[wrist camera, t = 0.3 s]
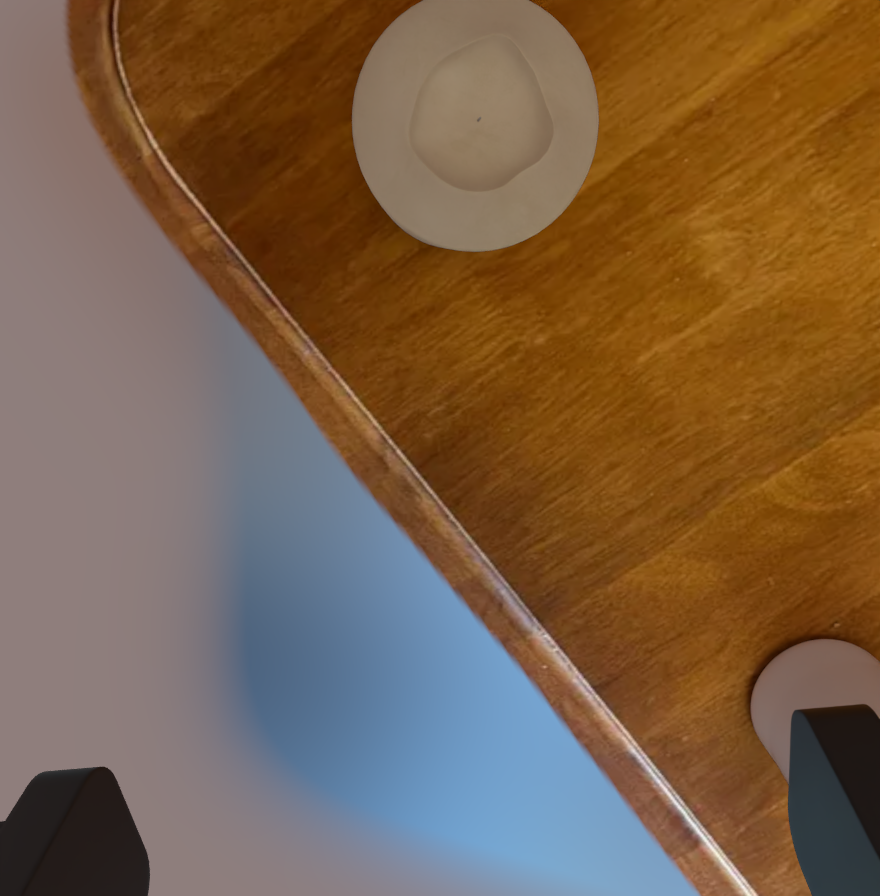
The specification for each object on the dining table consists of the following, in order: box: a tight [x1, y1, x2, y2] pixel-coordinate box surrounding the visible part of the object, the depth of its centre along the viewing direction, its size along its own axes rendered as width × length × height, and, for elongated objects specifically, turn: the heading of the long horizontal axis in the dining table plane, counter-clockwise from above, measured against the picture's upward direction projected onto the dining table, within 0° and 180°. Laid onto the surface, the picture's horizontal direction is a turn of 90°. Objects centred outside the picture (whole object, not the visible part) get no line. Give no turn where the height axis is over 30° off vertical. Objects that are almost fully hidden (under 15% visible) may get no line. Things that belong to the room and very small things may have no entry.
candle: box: [352, 0, 599, 252], centre depth 21 cm, size 6×6×10 cm
